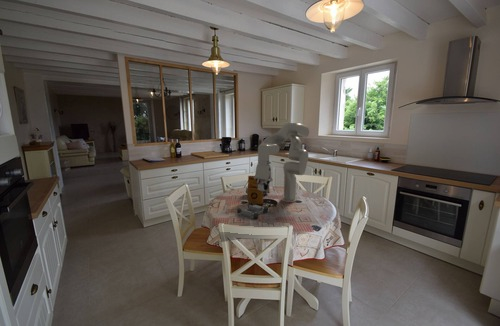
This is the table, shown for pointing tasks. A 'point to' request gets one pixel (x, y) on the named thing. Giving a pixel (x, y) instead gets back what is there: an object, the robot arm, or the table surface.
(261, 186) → the engine block
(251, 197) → the coffee package
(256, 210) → the chassis
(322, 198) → the table surface
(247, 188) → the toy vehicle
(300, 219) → the table surface
